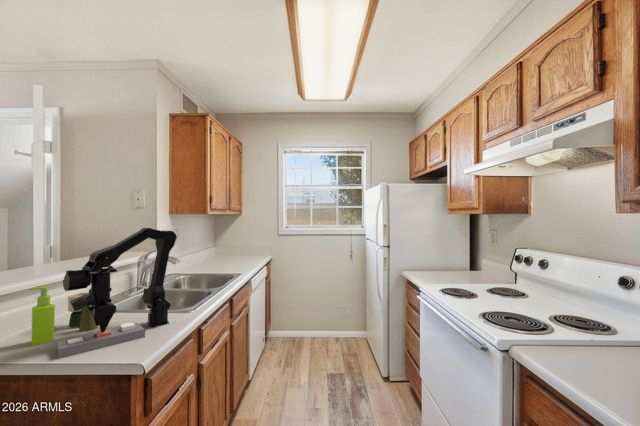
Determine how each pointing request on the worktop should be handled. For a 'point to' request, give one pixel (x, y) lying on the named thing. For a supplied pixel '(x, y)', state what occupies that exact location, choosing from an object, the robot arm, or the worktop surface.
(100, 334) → the red button
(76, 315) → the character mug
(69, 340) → the button
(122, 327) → the button
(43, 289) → the soap dispenser
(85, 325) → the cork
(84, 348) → the button panel
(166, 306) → the robot arm
